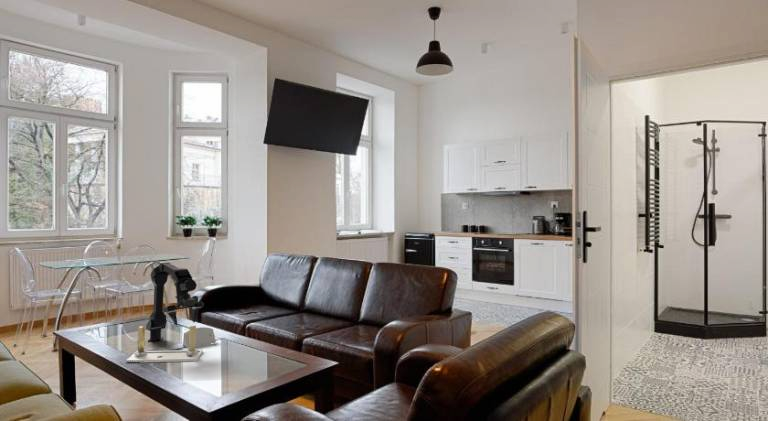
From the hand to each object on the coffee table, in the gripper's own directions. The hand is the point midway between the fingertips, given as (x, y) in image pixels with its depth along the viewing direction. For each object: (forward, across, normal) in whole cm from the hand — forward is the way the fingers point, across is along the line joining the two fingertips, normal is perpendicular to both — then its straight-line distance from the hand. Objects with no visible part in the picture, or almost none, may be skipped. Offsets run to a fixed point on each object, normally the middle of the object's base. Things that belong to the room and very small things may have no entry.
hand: (185, 323), depth 235 cm
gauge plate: (+14, -8, +6) cm, 18 cm away
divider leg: (+11, -18, +12) cm, 24 cm away
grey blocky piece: (+12, +14, +15) cm, 24 cm away
